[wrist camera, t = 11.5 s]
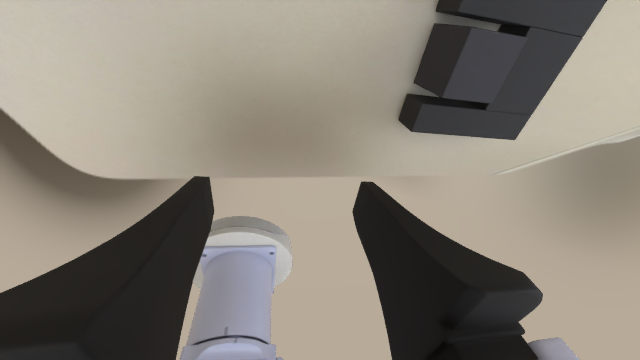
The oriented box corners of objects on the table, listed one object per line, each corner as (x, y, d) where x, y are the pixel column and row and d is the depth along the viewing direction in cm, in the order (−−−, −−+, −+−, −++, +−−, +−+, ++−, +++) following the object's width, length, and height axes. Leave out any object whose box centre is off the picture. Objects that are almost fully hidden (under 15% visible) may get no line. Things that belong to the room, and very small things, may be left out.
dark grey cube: (456, 88, 20) (492, 103, 17) (413, 82, 19) (441, 98, 16) (482, 32, 18) (528, 37, 14) (434, 23, 17) (472, 26, 13)
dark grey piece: (494, 128, 23) (515, 140, 21) (398, 120, 21) (411, 132, 19) (571, -3, 17) (610, -4, 15) (449, -32, 15) (476, -39, 13)
